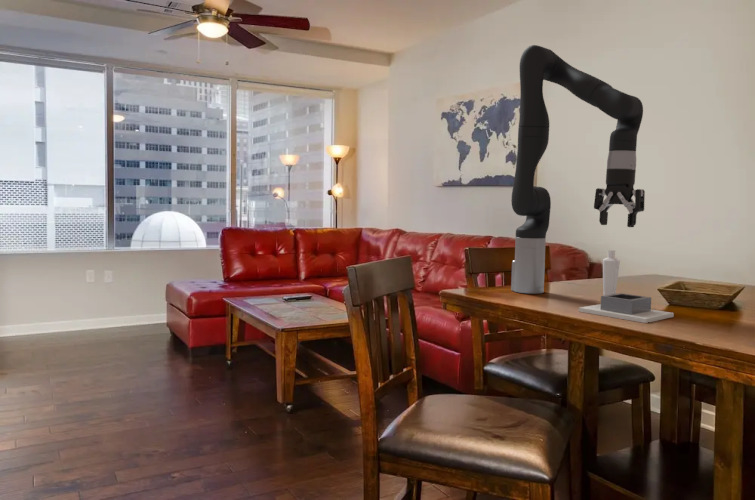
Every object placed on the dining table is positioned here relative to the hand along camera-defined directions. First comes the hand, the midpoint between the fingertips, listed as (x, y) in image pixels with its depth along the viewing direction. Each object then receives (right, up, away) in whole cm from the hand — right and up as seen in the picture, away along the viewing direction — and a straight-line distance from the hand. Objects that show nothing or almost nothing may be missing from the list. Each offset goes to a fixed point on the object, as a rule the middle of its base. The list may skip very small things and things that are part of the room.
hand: (616, 226), depth 167 cm
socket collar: (-4, -23, -15) cm, 28 cm away
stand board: (-4, -23, -15) cm, 28 cm away
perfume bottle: (-1, -22, +3) cm, 22 cm away
